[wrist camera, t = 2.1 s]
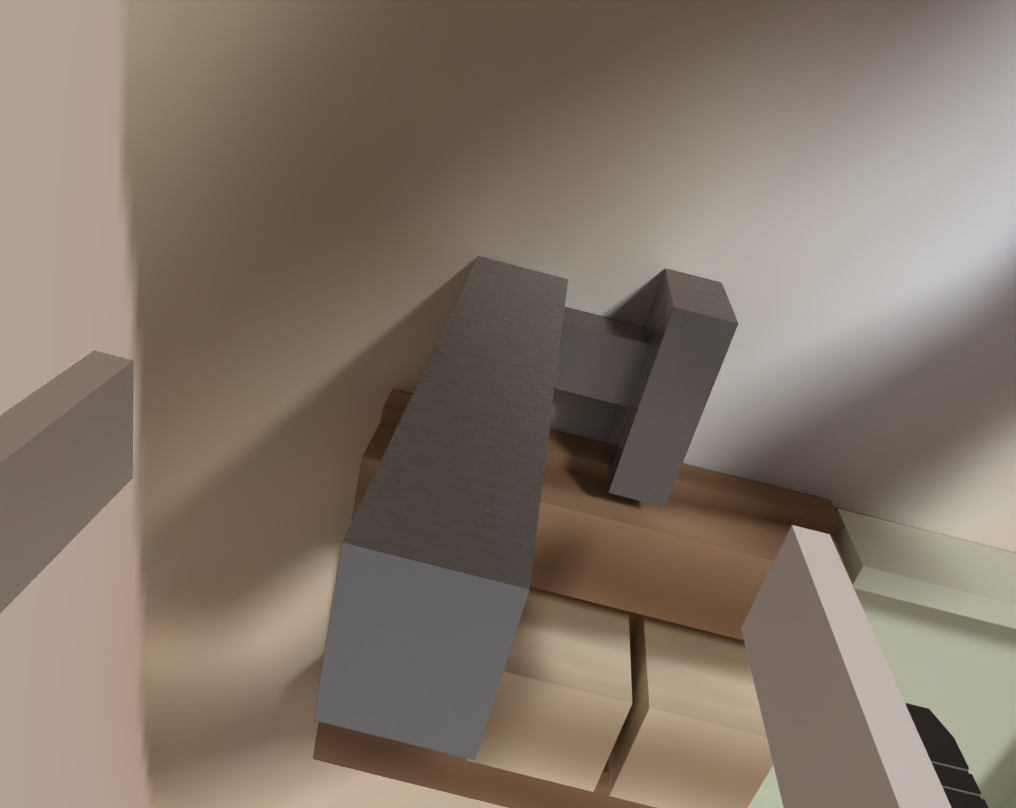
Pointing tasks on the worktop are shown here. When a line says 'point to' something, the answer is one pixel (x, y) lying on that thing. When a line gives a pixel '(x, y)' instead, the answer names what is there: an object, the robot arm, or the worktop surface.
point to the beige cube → (561, 691)
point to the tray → (940, 638)
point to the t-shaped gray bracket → (497, 490)
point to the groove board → (606, 586)
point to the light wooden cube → (689, 722)
